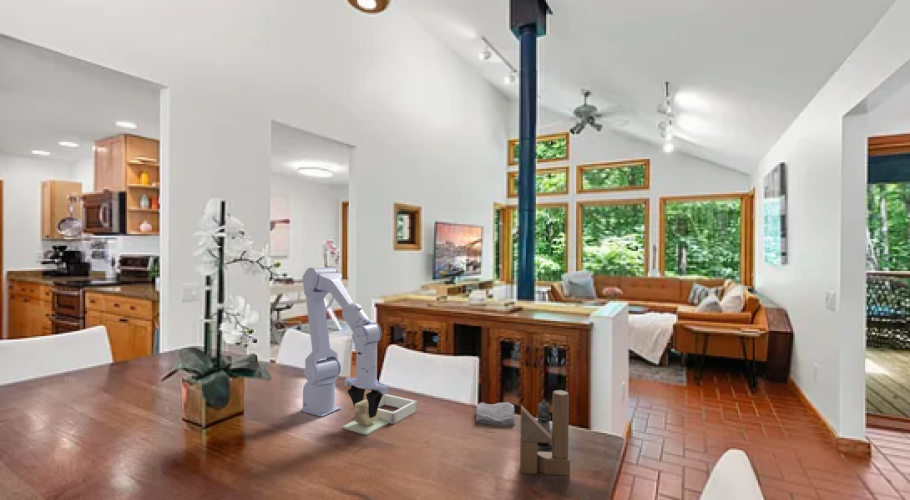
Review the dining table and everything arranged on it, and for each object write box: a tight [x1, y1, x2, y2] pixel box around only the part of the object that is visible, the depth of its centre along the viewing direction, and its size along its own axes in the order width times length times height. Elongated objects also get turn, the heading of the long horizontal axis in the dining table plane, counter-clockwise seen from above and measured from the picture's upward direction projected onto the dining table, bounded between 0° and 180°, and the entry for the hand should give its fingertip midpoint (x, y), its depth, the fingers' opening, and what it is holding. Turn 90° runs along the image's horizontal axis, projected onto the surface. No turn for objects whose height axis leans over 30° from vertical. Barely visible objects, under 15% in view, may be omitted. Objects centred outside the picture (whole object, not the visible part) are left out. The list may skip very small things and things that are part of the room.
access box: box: [378, 393, 418, 425], centre depth 129 cm, size 13×12×3 cm
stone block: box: [475, 401, 517, 427], centre depth 125 cm, size 12×5×10 cm
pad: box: [341, 419, 389, 436], centre depth 119 cm, size 9×9×1 cm
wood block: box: [354, 398, 378, 425], centre depth 119 cm, size 4×4×5 cm
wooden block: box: [519, 389, 571, 477], centre depth 96 cm, size 4×11×18 cm, turn 85°
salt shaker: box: [536, 398, 552, 451], centre depth 108 cm, size 6×6×12 cm
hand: (365, 414), depth 119 cm, fingers closed on wood block, 4 cm apart
